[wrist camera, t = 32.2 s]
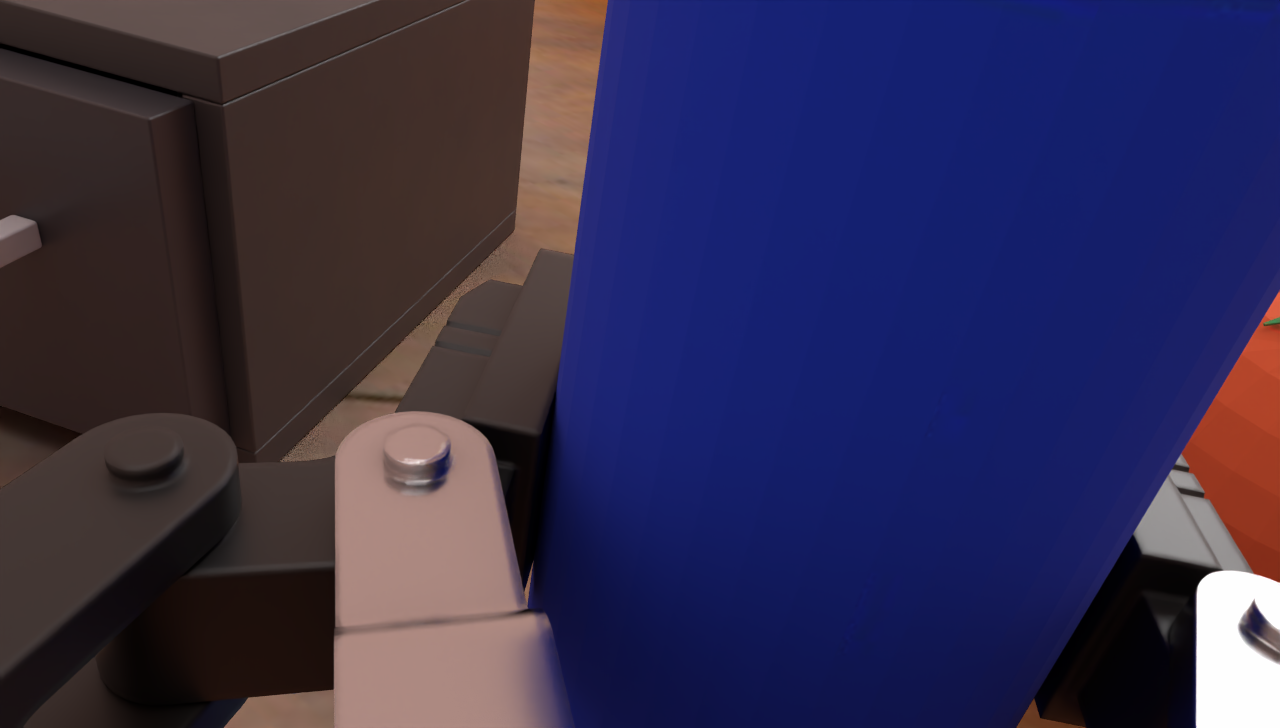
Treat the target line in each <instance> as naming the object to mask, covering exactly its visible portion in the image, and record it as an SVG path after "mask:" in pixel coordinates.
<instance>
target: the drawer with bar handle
mask: <svg viewBox="0 0 1280 728" xmlns="http://www.w3.org/2000/svg"><path fill="white" fill-rule="evenodd" d="M182 96H183V93H180V92H176V91H172V90H169V89H165V88H161V87H158V86H154V85H151V84H147V83H143V82H140V81H136V80H132V79H129V78H125V77H121V76H118V75H114V74H110V73H107V72H103V71H99V70H96V69H92V68H89V67H85V66H81V65H78V64H74V63H70V62H67V61H63V60H59V59H56V58H52V57H48V56H45V55H41V54H37V53H34V52H30V51H27V50H23V49H19V48H16V47H12V46H8V45H5V44H1V43H0V406H3V407H6V408H9V409H12V410H15V411H18V412H20V413H23V414H26V415H29V416H32V417H35V418H38V419H41V420H44V421H47V422H49V423H52V424H55V425H58V426H61V427H64V428H67V429H70V430H73V431H76V432H78V433H81V434H84V433H85V432H87V431H89V430H91V429H93V428H95V427H97V426H100V425H102V424H104V423H108V422H111V421H114V420H117V419H120V418H125V417H129V416H133V415H141V414H148V413H176V414H184V415H190V416H194V417H198V418H201V419H205V420H207V421H209V422H211V423H213V424H216V425H217V426H219V427H220V428H221V429H223V430H224V431H225V432H226V433H227V434H228V435H229V436H230V437H231V433H230V424H229V415H228V406H227V397H226V388H225V380H224V371H223V362H222V353H221V344H220V335H219V326H218V317H217V308H216V299H215V290H214V281H213V273H212V264H211V255H210V246H209V237H208V228H207V219H206V210H205V201H204V192H203V183H202V175H201V166H200V157H199V148H198V139H197V130H196V121H195V112H194V103H193V101H191V100H187V99H183V98H182Z"/></svg>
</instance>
